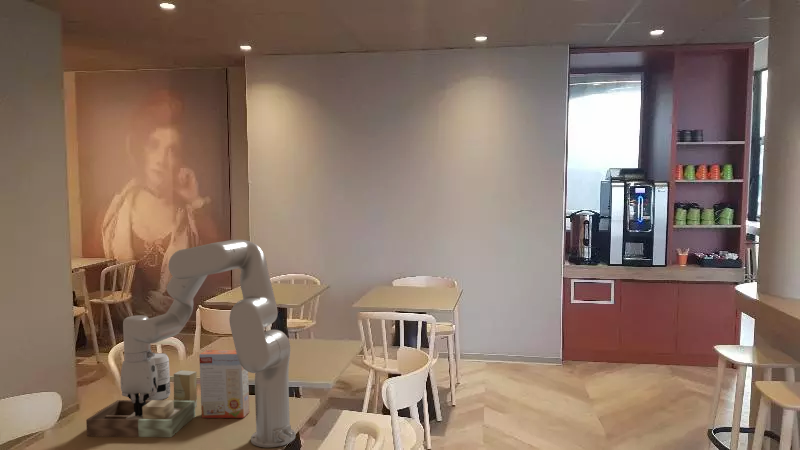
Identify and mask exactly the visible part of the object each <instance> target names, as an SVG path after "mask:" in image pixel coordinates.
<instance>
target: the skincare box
mask: <svg viewBox="0 0 800 450" xmlns="http://www.w3.org/2000/svg"><path fill="white" fill-rule="evenodd" d="M197 377H198V376H197V371H196V370H195V371H192V370H181V369H180V370H178V371H177V372H175V373H173V401H195V408H197V407H198V401H197V400H198V398H197V397H198V395H197V394H198V390H197V386H198V385H197V384H198V383H197V382H198V381H197V380H198V379H197Z"/></svg>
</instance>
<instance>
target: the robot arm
mask: <svg viewBox="0 0 800 450" xmlns="http://www.w3.org/2000/svg"><path fill="white" fill-rule="evenodd" d="M236 269H237V270H240V274H239V275H240V276H239V284H240V285H239V286H240V289H241V294H242V299H240V300H238V301H237V302H236V303H234V305H233V306H232V308H231V309H230V312H229V318H228V319H229V326H230V331H231V336H232V339H233V343H234V348H235V349H234V350H236V353H237V357H238V360H239V362H240V364H241V366H242V367H243V368H244V369H245V370H246V371H248V373H251V374H255V375H254V394H255V395H254V402H255V425H256V426H255V428H256V432H254V433H253V434H251V437H250V442H251V444H252V445H254V446H256V447H260V448H266V449H267V448H276V447H277V448H278V447H282V446H285V445H289V444H290V443H291V442H293V441H294V440H295V439H296V431H295V430H294V429H292V425H291V424H290V391H289V389H290V387H289V384H290V381H289V366H290V359H291V358H290V357H291V343H290V340H289V337H288V335H286V333H284V332H283V331H282V330H279V329H269V330H265V328H267V327H269V326H270V325H272V324H273V323H274V322H276V320H277V318H278V307H277V301H276V297H275V294H274V288H273V285H272V281H271V278H270V275H269V267H268V263H267V258H266V255H265V253H264V251H263V250H262V248H261V247H260V246H259V245H258V244H256V243H255V242H253V241H250V240H246V239H230V240H223V241H217V242H211V243H207V244H203V245H197V246H195V247H189V248H184V249H179V250H177V251H175V252H174V253H172V255H171V256H170V258H169V261H168V272H169V273H170V274H171V276H172V277H171V279H170V280H169V282H168V283H167V284H166V292H167V294H168V295H169V296H170V297H171V298H172V299H173V301H172V304H170V307H169V308H168V309H167V311H166V312H165V313H163V314H160V315H157V316H156V315H155V316H154V317H150V318H149V317H148V316H147V315H131V316H127V317H126V318H124V319H123V322H122V331H123V333H122V334H123V353H124V355H123V356H124V359H123V361H122V364H121V371H120V390H121V396H122V397H126V398H128V399H129V400H132V403H134V412H135V416H141V415H143V411H142V407H143V406H144V405H146V400H148V398H149V397H152V396H155V395H156V394H157V392H156V389H157V388H158V377H157V370H156V365H155V361H154V359H151V358H152V357H154V356H155V354H156V353H155V351H154V352H153V351H152V349H151V348H152V347H151V346H152V345H151V344H157V343H158V342H161V341H164V340H166V339H170V338H172V337H175V336H177V335H178V334H180V332H182V330H183V329H184V327H185V326H186V324H187V322H188V321H189V320H190V318H191V316H192V314H193V311H194V298H195V297H196V295H197V293H198V291H199V290H200V288H201V287H202V285H203V284H204V282H205V281H206V279H207V277H208V276H209V275H214V274H215V275H216V274H220V273H221V274H222V273H225V272H228V271H229V272H230V271H233V270H236Z"/></svg>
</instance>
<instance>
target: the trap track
mask: <svg viewBox="0 0 800 450" xmlns="http://www.w3.org/2000/svg"><path fill="white" fill-rule="evenodd" d="M150 401H151V400H148V399H147V400H146V404H147V403H149V402H150ZM173 401H174V400H173ZM196 415H197V414H196V407H195V401H174V413H173V414H172V415H171V416H169V417H168V418H167V419H143V415H141V416H135V412H134V403H132V400H131V399H128V400H127V399H119V400H118V399H117V400H115V401H114V402H113V403H111V404H109V405H107V406H106V407H104V408H103V409H101V410H99V411H98V412H96V413H95V414H93V415H91V416H90V417H88V418H86V420H85V421H86V424H85V425H86V437H114V438H115V437H117V438H118V437H121V438H122V437H123V438H124V437H125V438H126V437H127V438H128V437H129V438H131V437H132V438H133V437H134V438H173V436H174V435H176V434H177V433H178V432H179V431H181V429H182V428H183V426H184V427H185V426H186V425H187V424H188V423H189V422H190V421H192V420H193V419H194V418H195V417H196ZM192 418H193V419H192ZM175 433H176V434H175Z"/></svg>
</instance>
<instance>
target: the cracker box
mask: <svg viewBox="0 0 800 450" xmlns="http://www.w3.org/2000/svg"><path fill="white" fill-rule="evenodd" d="M199 379H200V380H199V382H200V384H199V385H200V403H201V405H200V406H201V408H200V409H201V418H202V419H243V418H245V417H246V416H248V414H249V413H250V394H249V393H250V392H249V372H248V371H246V370H245V369H244V368H243V367H242V366H241V364H240V362H239V360H238V357H237V353H236V349H206V350H204V351H202V352H201V353H199Z"/></svg>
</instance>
